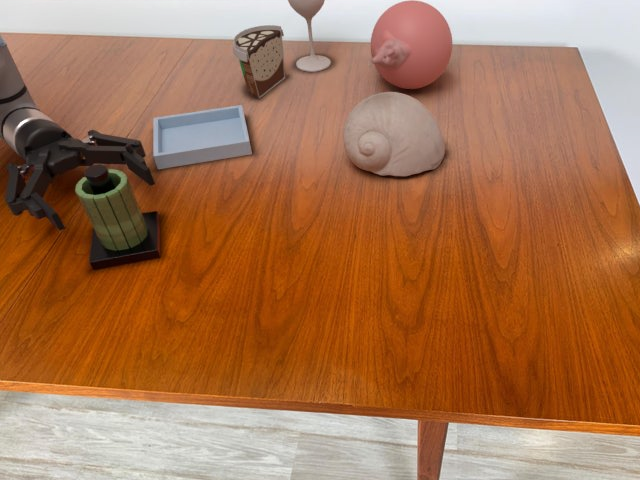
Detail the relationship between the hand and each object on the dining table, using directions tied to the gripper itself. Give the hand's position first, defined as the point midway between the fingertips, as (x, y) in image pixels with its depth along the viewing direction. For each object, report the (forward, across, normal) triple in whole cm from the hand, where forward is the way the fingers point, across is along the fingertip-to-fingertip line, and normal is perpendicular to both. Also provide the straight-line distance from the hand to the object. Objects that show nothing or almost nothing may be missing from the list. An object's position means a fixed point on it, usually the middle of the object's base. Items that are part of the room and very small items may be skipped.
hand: (106, 198), depth 80 cm
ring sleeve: (+2, 0, -5) cm, 6 cm away
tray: (-12, -22, -6) cm, 26 cm away
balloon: (+1, -60, -7) cm, 60 cm away
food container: (-22, -42, -7) cm, 47 cm away
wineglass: (-21, -55, -7) cm, 59 cm away
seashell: (+16, -42, -7) cm, 45 cm away
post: (+2, 0, -6) cm, 7 cm away
